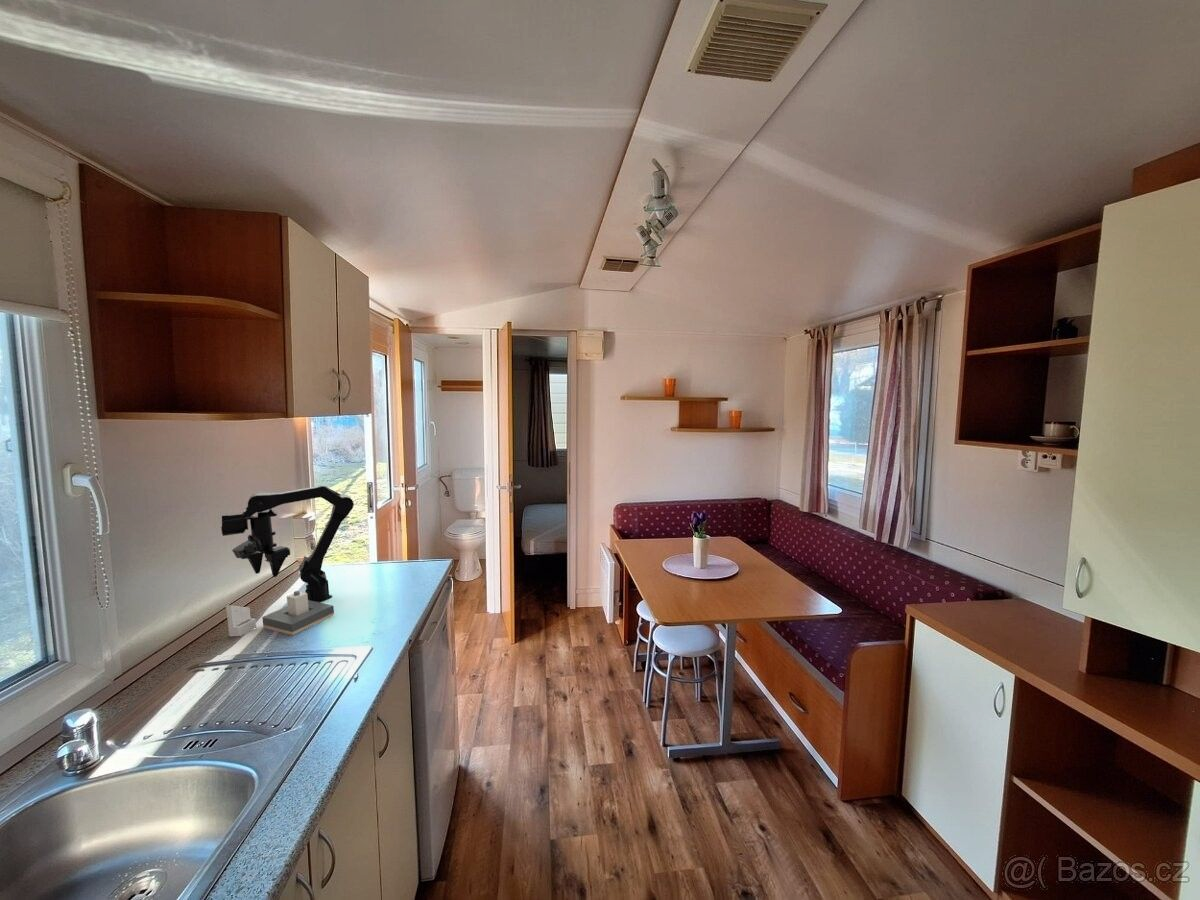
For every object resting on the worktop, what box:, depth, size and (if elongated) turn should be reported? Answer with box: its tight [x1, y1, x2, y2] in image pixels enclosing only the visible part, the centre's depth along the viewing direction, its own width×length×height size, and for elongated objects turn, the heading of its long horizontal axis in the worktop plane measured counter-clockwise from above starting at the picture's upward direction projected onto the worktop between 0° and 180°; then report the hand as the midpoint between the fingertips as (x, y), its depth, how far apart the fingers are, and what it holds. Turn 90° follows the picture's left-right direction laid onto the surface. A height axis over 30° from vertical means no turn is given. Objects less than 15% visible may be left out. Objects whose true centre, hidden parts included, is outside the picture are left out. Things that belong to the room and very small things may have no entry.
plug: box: [286, 590, 309, 617], centre depth 152 cm, size 4×4×9 cm
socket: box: [261, 600, 335, 636], centre depth 152 cm, size 14×14×4 cm
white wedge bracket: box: [225, 604, 257, 637], centre depth 145 cm, size 4×10×9 cm, turn 168°
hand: (266, 575), depth 160 cm, fingers open, 9 cm apart
